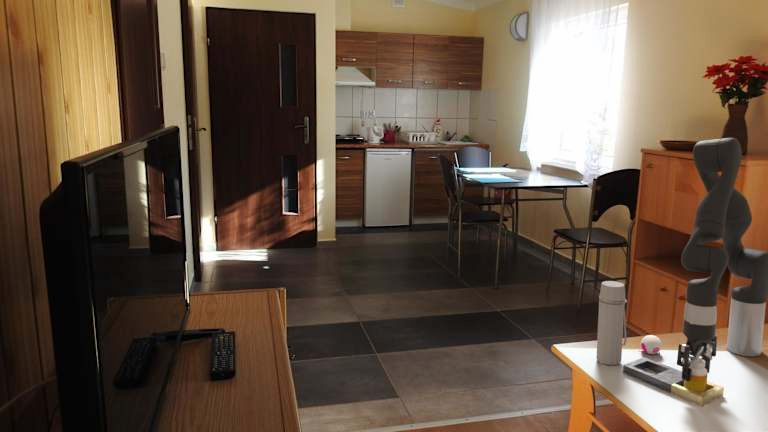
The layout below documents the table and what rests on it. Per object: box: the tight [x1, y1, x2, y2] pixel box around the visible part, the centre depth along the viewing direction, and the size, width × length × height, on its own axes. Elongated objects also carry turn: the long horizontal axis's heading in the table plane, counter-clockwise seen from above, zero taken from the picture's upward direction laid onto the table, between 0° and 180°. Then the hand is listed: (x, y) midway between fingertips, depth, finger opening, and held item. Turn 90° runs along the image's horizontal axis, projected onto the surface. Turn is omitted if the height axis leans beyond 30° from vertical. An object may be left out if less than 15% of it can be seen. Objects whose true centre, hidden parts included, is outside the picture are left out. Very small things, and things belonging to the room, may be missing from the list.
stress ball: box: [639, 334, 663, 355], centre depth 179 cm, size 8×8×7 cm
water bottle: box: [596, 280, 628, 366], centre depth 172 cm, size 9×8×25 cm
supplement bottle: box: [684, 357, 708, 394], centre depth 152 cm, size 5×5×10 cm
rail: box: [622, 357, 725, 407], centre depth 158 cm, size 10×24×2 cm, turn 31°
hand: (695, 376), depth 152 cm, fingers open, 8 cm apart
